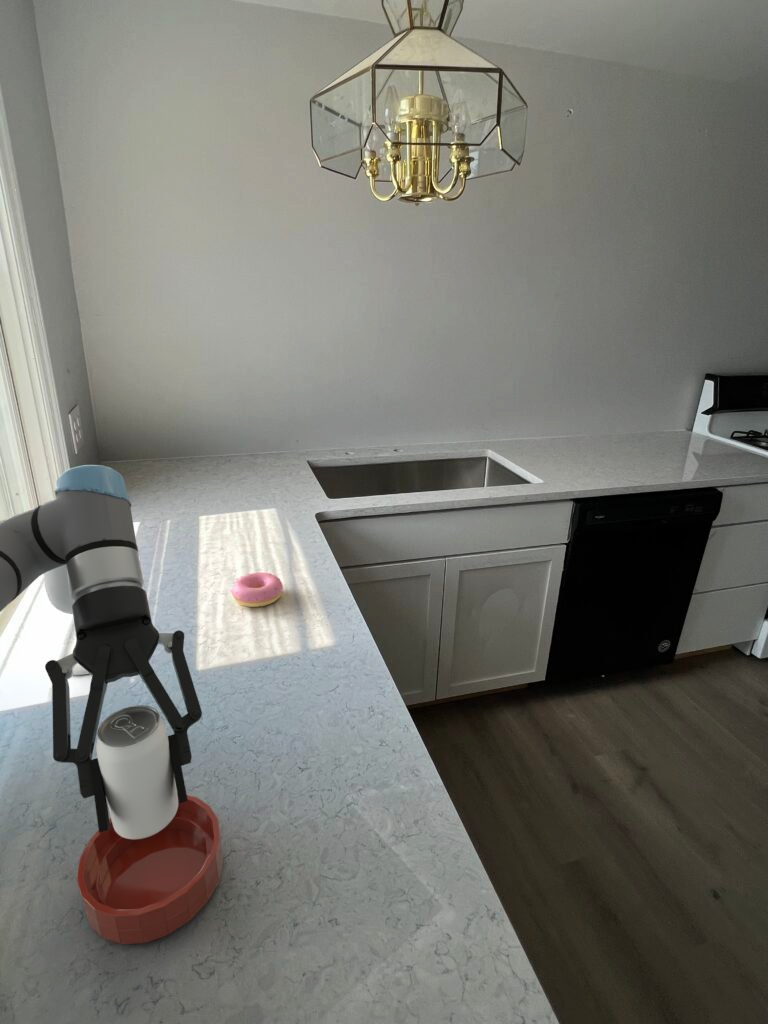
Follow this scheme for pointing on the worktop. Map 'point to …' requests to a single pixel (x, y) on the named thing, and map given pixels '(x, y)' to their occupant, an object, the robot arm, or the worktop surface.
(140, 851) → the bowl
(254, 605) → the doughnut
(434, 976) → the worktop surface
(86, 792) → the robot arm
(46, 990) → the worktop surface
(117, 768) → the can
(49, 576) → the wineglass
